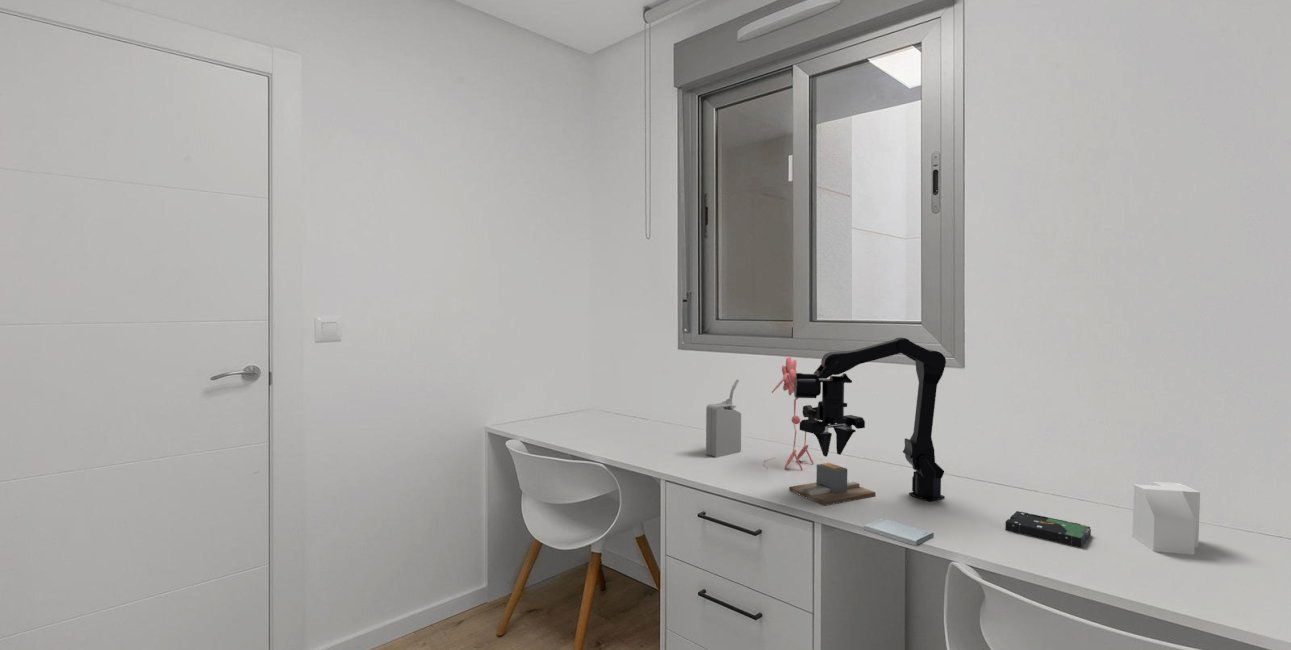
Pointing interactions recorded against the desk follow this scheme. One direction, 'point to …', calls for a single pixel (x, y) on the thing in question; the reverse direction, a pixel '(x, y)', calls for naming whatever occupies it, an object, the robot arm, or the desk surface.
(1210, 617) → the desk surface
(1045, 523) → the disk drive
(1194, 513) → the corner bracket
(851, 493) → the mounting board
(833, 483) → the block
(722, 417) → the fuel canister
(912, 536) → the hard drive
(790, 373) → the pink flower figurine
